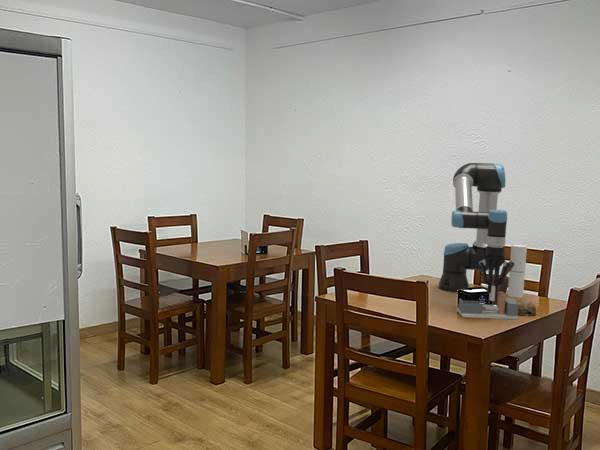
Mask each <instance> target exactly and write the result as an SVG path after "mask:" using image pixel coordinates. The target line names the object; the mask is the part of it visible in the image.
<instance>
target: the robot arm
mask: <svg viewBox="0 0 600 450" xmlns="http://www.w3.org/2000/svg"><path fill="white" fill-rule="evenodd" d="M452 185H453V187H454V191H455V210H452V212H451V221H450V222H451V224H450V225H451V226H452V227H453V228H457V229H475V230H476V239H475V241H473V242H472V246H469V244H468V243H467V242H463V243H462V242H456V243H449V244H447V245H445V246H444V250H443V251H444V252H443V266H442V274H441V276H440V279H439V281H438V285H437V287H438V288H439V289H440V290H443V291H447V292H455V293H457V290H458V289H463V288H468V287H469V288H470V284H469V280H468V277H467V271H468V270H471V271H481V275H482V280H483V283H484V284H485V285H487V293H488V295H489V296H488V301H489V300H490V301H494V300H495V293H497V289H498V286H499V285H502V284H503V280H504V277H505V274H506V271H507V268H508V267H509V266H510V263H508V262H509V261H506V259H505V250H506V248H505V245H506V238H507V237H506V236H507V234H506V233H507V222H508V212H507V210H504V209H497V208H498V196H499V195H500V193H502V189H504V188H506V172H505V167H504V165H503V164H501V163H494V162H493V163H492V162H489V163H488V162H469V163H465V164H463V165H462V166H460V167H459V168H458V169H457V170H456V171H455V173H454V175H453V178H452ZM473 187H476V191H477V192H478V193H479V198H478V201H479V202H478V211H474V205H473ZM502 265H503V266H502ZM501 267H502V269H501ZM500 269H501V271H500ZM487 272H488V275H487ZM493 274H494V285H492V279H493ZM499 275H500V277H499Z"/></svg>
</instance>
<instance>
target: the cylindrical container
mask: <svg viewBox="0 0 600 450" xmlns="http://www.w3.org/2000/svg"><path fill="white" fill-rule="evenodd" d="M527 250H528V246H527V245H523V244H511V246H510V260H509V261H512V262H514V266H513V268H512V269H511V270H510V271H509V273H508V274H509V276H508V277H509V279H508V288H507V296H508V297H511V298H516V299H517V298H523V297H524V289H525V288H524V287H525V275H526V265H527V263H526V262H527Z"/></svg>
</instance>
